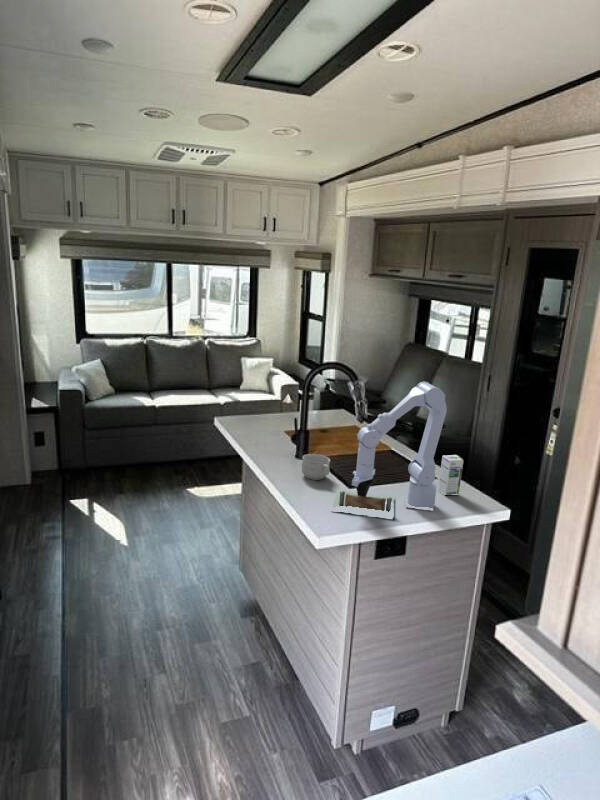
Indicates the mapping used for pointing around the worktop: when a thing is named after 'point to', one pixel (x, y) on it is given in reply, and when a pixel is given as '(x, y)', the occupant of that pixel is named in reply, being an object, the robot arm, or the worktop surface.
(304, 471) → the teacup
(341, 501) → the dark gray metal cylinder
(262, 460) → the worktop surface
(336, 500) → the gate mat
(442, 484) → the syrup box
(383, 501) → the wooden block
